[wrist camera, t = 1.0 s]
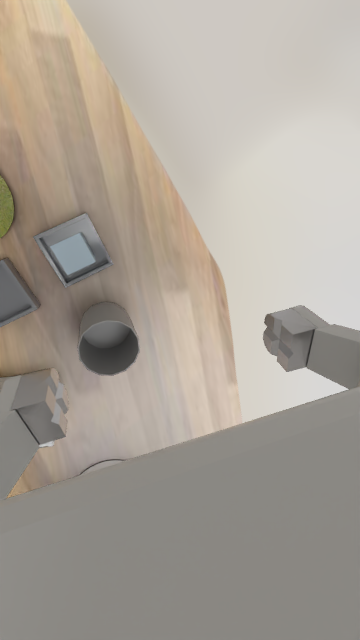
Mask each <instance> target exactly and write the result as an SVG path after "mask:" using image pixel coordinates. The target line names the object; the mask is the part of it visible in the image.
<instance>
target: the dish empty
mask: <svg viewBox="0 0 360 640" xmlns="http://www.w3.org/2000/svg"><path fill="white" fill-rule="evenodd" d="M39 306H40V303H39V302H38V300H37V299H36V297H35V296H34V294H33V293H32V292H31V290H30V289H29V287H28V286H27V284H26V283H25V282H24V280H23V279H22V277H21V276H20V274H19V273H18V271H17V270H16V269H15V267H14V266H13V264H12V263H11V261H10V260H9V258H6V259H3V260H1V261H0V327H2V326H4V325H6V324H8V323H10V322H12V321H14V320H16V319H18V318H20V317H22V316H24V315H26V314H29V313H31V312H33V311H35V310H37V309H38V308H39Z"/></svg>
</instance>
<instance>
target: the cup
mask: <svg viewBox="0 0 360 640" xmlns="http://www.w3.org/2000/svg"><path fill="white" fill-rule="evenodd" d="M77 348H78V354H79V359H80V361H81V362H82V364H83V365H84V366H85V367H86V368H87V370H89V371H91V372H93V373H96V374H98V375H108V376H113V375H116V374H119V373H121V372H124V371H126V370H127V369H128V368H129V367H130V366H131V365H132V364H133V363H135V361H136V359H137V356H138V354H139V351H140V348H139V338H138V336H137V333H136V331H135V329H134V326H133V324H132V322H131V319H130V317H129V316H128V314H127V312H126V311H125V309H124V308H122V307H120V306H119V305H117V304H115V303H109V302H101V303H98V304H95V305H92V306H91V307H90V308H89V309H88V310H87V311H86V312H85V313H84V315H83V317H82V320H81V323H80V330H79V339H78V347H77Z"/></svg>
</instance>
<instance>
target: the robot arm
mask: <svg viewBox="0 0 360 640" xmlns="http://www.w3.org/2000/svg"><path fill="white" fill-rule="evenodd" d="M264 323H265V324H266V326H267V328H266V330H265V331H264V335H263V340H264V344H265V346H266V348H267V350H268V351H269V352H270V353H271V354H272V355H275V356H277V362H278V363H279V364H280V365H281V366H282V367H283V368H284V369H285V370H286V372H289V371H293V370H296V369H300V368H304V367H307V368H308V369H310V370H312V371H314V372H316V373H318V374H320V375H322V376H324V377H326V378H328V379H330V380H332V381H334V382H336V383H338V384H340V385H342V386H344V387H346V388H348V389H349V390H346V391H343V392H340V393H337V394H334V395H330V396H327V397H324V398H321V399H318V400H315V401H312V402H308V403H305V404H302V405H299V406H296V407H293V408H290V409H286V410H283V411H280V412H277V413H274V414H271V415H268V416H264V417H261V418H258V419H255V420H252V421H249V422H245V423H242V424H239V425H236V426H233V427H230V428H227V429H223V430H220V431H217V432H214V433H211V434H208V435H205V436H201V437H198V438H195V439H192V440H189V441H186V442H183V443H180V444H176V445H173V446H170V447H167V448H164V449H161V450H158V451H154V452H151V453H148V454H145V455H142V456H139V457H136V458H132V459H129V460H126V461H120V460H112V461H105V462H102V463H99V464H96V465H94V466H92V467H90V468H89V469H87V470H86V471H84V472H83V473H82V474H81V475H79V476H76V477H73V478H70V479H67V480H63V481H60V482H57V483H54V484H51V485H48V486H45V487H41V488H38V489H35V490H32V491H29V492H26V493H23V494H20V495H16V496H13V497H10V498H7V496H8V494H9V493H10V491H11V490H12V488H13V487H14V485H15V484H16V482H17V481H18V479H19V478H20V476H21V475H22V473H23V471H24V470H25V468H26V467H27V465H28V464H29V462H30V461H31V459H32V458H33V456H34V455H35V453H36V452H37V450H38V449H39V447H40V446H39V445H41V444H45V443H48V442H51V441H54V440H57V439H60V438H63V437H66V429H67V419H66V417H65V414H66V412H67V411H68V407H69V401H68V394H67V391H66V388H65V386H64V384H62V383H60V382H59V374H58V372H57V370H56V369H55V368H49V369H44V370H40V371H35V372H31V373H27V374H23V375H18V376H14V377H10V378H8V379H6V380H5V382H4V384H3V387H2V389H1V392H0V640H360V331H358V330H354V329H350V328H347V327H343V326H339V325H335V324H333V325H330V324H328V323H327V322H326V321H324V320H322V319H321V318H320V317H319V316H317V315H316V314H315V313H313V312H312V311H310V310H309V309H308V308H306V307H305V306H302V305H299V306H296V307H293V308H289V309H286V310H283V311H278V312H274V313H270V314H267V315H266V317H265V322H264ZM6 498H7V499H6Z"/></svg>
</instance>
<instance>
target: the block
mask: <svg viewBox="0 0 360 640" xmlns="http://www.w3.org/2000/svg"><path fill="white" fill-rule="evenodd" d="M50 248H51V249H52V251H53V252H54V254H55V256H56V257H57V259H58V261H59V262H60V264H61V265H62V267H63V269H64V270H65V272H66V274H67V275H69V274H71V273H73V272H76V271H78V270H80V269H82V268H84V267H86V266H88V265H90V264H92V263H94V262H96V261H95V256H94V254H93V252H92V250H91V249H90V247H89V245H88V243H87V241H86V240H85V238H84V236H83V234H82V232H80V233H78V234H76V235H74V236H72V237H70V238H67V239H65V240H63V241H61V242H59V243H56V244H54V245H52V246H50Z"/></svg>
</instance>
